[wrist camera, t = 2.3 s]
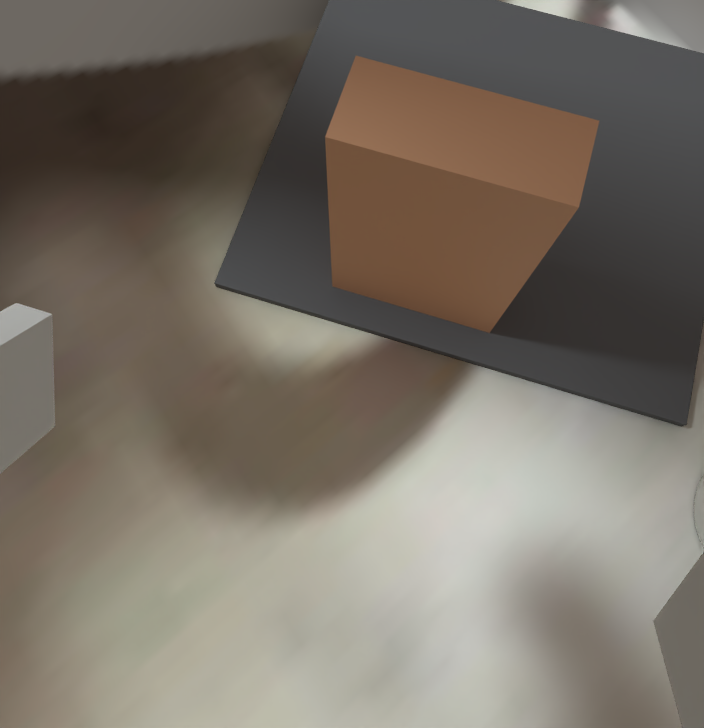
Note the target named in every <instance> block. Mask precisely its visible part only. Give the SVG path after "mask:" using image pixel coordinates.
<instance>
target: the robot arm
mask: <svg viewBox="0 0 704 728" xmlns="http://www.w3.org/2000/svg"><path fill="white" fill-rule="evenodd" d="M53 427H55V407H54V368H53V329H52V314H50V313H47V312H44V311H40V310H37V309H34V308H31V307H28V306H24V305H21V304H18V303H15V304H13V305H11V306H10V307H8V308H6V309H4V310H2V311H0V473H2V472H3V471H4V470H5V469H6V468H7V467H9V466H10V465H11V464H12V463H13V462H14V461H15V460H17V459H18V458H19V457H20V456H21V455H22V454H23V453H25V452H26V451H27V450H28V449H29V448H30V447H32V446H33V445H34V444H35V443H36V442H37V441H38V440H40V439H41V438H42V437H43V436H44V435H45V434H47V433H48V432H49V431H50V430H51V429H52V428H53ZM654 625H655V629H656V632H657V636H658V640H659V643H660V647H661V651H662V654H663V658H664V662H665V665H666V669H667V673H668V676H669V680H670V684H671V687H672V691H673V695H674V698H675V702H676V706H677V709H678V713H679V717H680V720H681V724H682V728H704V553H703V554H702V555H701V557H700V558H699V559H698V561H697V562H696V563H695V565H694V566H693V568H692V569H691V570H690V572H689V573H688V574H687V576H686V577H685V578H684V580H683V581H682V583H681V584H680V585H679V587H678V588H677V589H676V591H675V592H674V594H673V595H672V596H671V598H670V599H669V600H668V602H667V603H666V604H665V606H664V607H663V609H662V610H661V611H660V613H659V614H658V615H657V617H656V618H655V619H654Z"/></svg>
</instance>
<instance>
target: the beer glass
mask: <svg viewBox="0 0 704 728" xmlns="http://www.w3.org/2000/svg"><path fill="white" fill-rule="evenodd" d="M694 521H695V527H696V531H697V534H698V537H699V539H700V542H701V544H702V546H703V548H704V475H703V476H702V478H701V480H700V482H699V484H698V487H697V490H696V493H695V498H694Z"/></svg>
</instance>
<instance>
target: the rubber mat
mask: <svg viewBox="0 0 704 728" xmlns="http://www.w3.org/2000/svg"><path fill="white" fill-rule="evenodd" d="M356 56H359V57H363V58H367V59H371V60H374V61H378V62H382V63H386V64H389V65H393V66H397V67H400V68H404V69H408V70H412V71H415V72H419V73H423V74H427V75H430V76H434V77H438V78H442V79H445V80H449V81H453V82H457V83H460V84H464V85H468V86H472V87H475V88H479V89H483V90H487V91H490V92H494V93H498V94H502V95H505V96H509V97H513V98H517V99H520V100H524V101H528V102H531V103H535V104H539V105H543V106H546V107H550V108H554V109H558V110H561V111H565V112H569V113H573V114H576V115H580V116H584V117H588V118H591V119H595V120H599V125H598V129H597V133H596V137H595V142H594V146H593V150H592V154H591V159H590V163H589V167H588V171H587V175H586V180H585V184H584V188H583V192H582V197H581V201H580V205H579V208H578V209H577V211H576V212H575V214H574V215H573V216H572V218H571V219H570V221H569V222H568V223H567V225H566V226H565V228H564V229H563V230H562V232H561V233H560V235H559V236H558V237H557V239H556V240H555V242H554V243H553V245H552V246H551V247H550V249H549V250H548V252H547V253H546V254H545V256H544V257H543V259H542V260H541V261H540V263H539V264H538V266H537V267H536V268H535V270H534V271H533V273H532V274H531V275H530V277H529V278H528V280H527V281H526V282H525V284H524V285H523V287H522V288H521V289H520V291H519V292H518V294H517V295H516V296H515V298H514V299H513V301H512V302H511V303H510V305H509V306H508V308H507V309H506V310H505V312H504V313H503V315H502V316H501V317H500V319H499V320H498V322H497V323H496V324H495V326H494V327H493V329H492V330H491V331H490V333H488V332H485V331H481V330H478V329H474V328H471V327H468V326H464V325H461V324H458V323H454V322H451V321H447V320H444V319H441V318H437V317H434V316H430V315H427V314H424V313H420V312H417V311H414V310H410V309H407V308H403V307H400V306H397V305H393V304H390V303H387V302H383V301H380V300H376V299H373V298H370V297H366V296H363V295H360V294H356V293H353V292H349V291H346V290H343V289H339V288H336V287H332V269H331V248H330V228H329V207H328V186H327V166H326V145H325V136H326V133H327V130H328V128H329V125H330V123H331V120H332V117H333V115H334V112H335V109H336V107H337V104H338V101H339V99H340V96H341V93H342V91H343V88H344V86H345V83H346V80H347V78H348V75H349V72H350V70H351V67H352V64H353V62H354V59H355V57H356ZM215 285H216V287H219V288H223V289H226V290H229V291H233V292H236V293H239V294H243V295H246V296H249V297H253V298H256V299H259V300H263V301H266V302H269V303H273V304H276V305H279V306H283V307H286V308H289V309H293V310H296V311H299V312H303V313H306V314H309V315H313V316H316V317H319V318H323V319H326V320H329V321H333V322H336V323H339V324H343V325H346V326H349V327H353V328H356V329H359V330H363V331H366V332H369V333H373V334H376V335H379V336H382V337H386V338H389V339H392V340H396V341H399V342H402V343H406V344H409V345H412V346H416V347H419V348H422V349H426V350H429V351H432V352H436V353H439V354H442V355H446V356H449V357H452V358H456V359H459V360H462V361H466V362H469V363H472V364H476V365H479V366H482V367H486V368H489V369H492V370H496V371H499V372H502V373H506V374H509V375H512V376H516V377H519V378H522V379H526V380H529V381H532V382H536V383H539V384H542V385H546V386H549V387H552V388H556V389H559V390H562V391H566V392H569V393H572V394H576V395H579V396H582V397H586V398H589V399H592V400H596V401H599V402H602V403H606V404H609V405H612V406H616V407H619V408H622V409H626V410H629V411H632V412H636V413H639V414H642V415H646V416H649V417H652V418H656V419H659V420H662V421H666V422H669V423H672V424H676V425H679V426H684V425H686V424H687V418H688V412H689V406H690V400H691V394H692V388H693V381H694V375H695V369H696V363H697V357H698V351H699V345H700V339H701V333H702V327H703V321H704V53H700V52H696V51H692V50H688V49H684V48H680V47H677V46H673V45H669V44H665V43H661V42H657V41H653V40H649V39H645V38H641V37H637V36H634V35H630V34H626V33H622V32H618V31H614V30H610V29H606V28H602V27H598V26H595V25H591V24H587V23H583V22H579V21H575V20H571V19H567V18H563V17H559V16H556V15H552V14H548V13H544V12H540V11H536V10H532V9H528V8H524V7H520V6H516V5H513V4H509V3H505V2H501V1H497V0H329V2H328V5H327V7H326V10H325V12H324V14H323V17H322V19H321V22H320V24H319V27H318V29H317V31H316V34H315V36H314V39H313V41H312V44H311V46H310V49H309V51H308V54H307V56H306V59H305V61H304V64H303V66H302V68H301V71H300V73H299V76H298V78H297V81H296V83H295V86H294V88H293V91H292V93H291V96H290V98H289V101H288V103H287V105H286V108H285V110H284V113H283V115H282V118H281V120H280V123H279V125H278V128H277V130H276V133H275V135H274V137H273V140H272V142H271V145H270V147H269V150H268V152H267V155H266V157H265V160H264V162H263V165H262V167H261V170H260V172H259V174H258V177H257V179H256V182H255V184H254V187H253V189H252V192H251V194H250V197H249V199H248V202H247V204H246V207H245V209H244V211H243V214H242V216H241V219H240V221H239V224H238V226H237V229H236V231H235V234H234V236H233V239H232V241H231V243H230V246H229V248H228V251H227V253H226V256H225V258H224V261H223V263H222V266H221V268H220V271H219V273H218V276H217V278H216V280H215Z"/></svg>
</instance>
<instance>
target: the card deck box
mask: <svg viewBox="0 0 704 728" xmlns="http://www.w3.org/2000/svg"><path fill="white" fill-rule="evenodd" d="M598 125H599V120H595V119H591V118H588V117H584V116H580V115H576V114H573V113H569V112H565V111H561V110H558V109H554V108H550V107H546V106H543V105H539V104H535V103H531V102H528V101H524V100H520V99H517V98H513V97H509V96H505V95H502V94H498V93H494V92H490V91H487V90H483V89H479V88H475V87H472V86H468V85H464V84H460V83H457V82H453V81H449V80H445V79H442V78H438V77H434V76H430V75H427V74H423V73H419V72H415V71H412V70H408V69H404V68H400V67H397V66H393V65H389V64H386V63H382V62H378V61H374V60H371V59H367V58H363V57H359V56H356V57H355V59H354V62H353V64H352V67H351V70H350V72H349V75H348V78H347V80H346V83H345V86H344V88H343V91H342V93H341V96H340V99H339V101H338V104H337V107H336V109H335V112H334V115H333V117H332V120H331V123H330V125H329V128H328V130H327V133H326V136H325V145H326V166H327V186H328V207H329V228H330V248H331V269H332V287H336V288H339V289H343V290H346V291H349V292H353V293H356V294H360V295H363V296H366V297H370V298H373V299H376V300H380V301H383V302H387V303H390V304H393V305H397V306H400V307H403V308H407V309H410V310H414V311H417V312H420V313H424V314H427V315H430V316H434V317H437V318H441V319H444V320H447V321H451V322H454V323H458V324H461V325H464V326H468V327H471V328H474V329H478V330H481V331H485V332H488V333H490V331H491V330H492V329H493V327H494V326H495V324H496V323H497V322H498V320H499V319H500V317H501V316H502V315H503V313H504V312H505V310H506V309H507V308H508V306H509V305H510V303H511V302H512V301H513V299H514V298H515V296H516V295H517V294H518V292H519V291H520V289H521V288H522V287H523V285H524V284H525V282H526V281H527V280H528V278H529V277H530V275H531V274H532V273H533V271H534V270H535V268H536V267H537V266H538V264H539V263H540V261H541V260H542V259H543V257H544V256H545V254H546V253H547V252H548V250H549V249H550V247H551V246H552V245H553V243H554V242H555V240H556V239H557V237H558V236H559V235H560V233H561V232H562V230H563V229H564V228H565V226H566V225H567V223H568V222H569V221H570V219H571V218H572V216H573V215H574V214H575V212H576V211H577V209H578V208H579V205H580V201H581V197H582V192H583V188H584V184H585V180H586V175H587V171H588V167H589V163H590V159H591V154H592V150H593V146H594V142H595V137H596V133H597V129H598Z"/></svg>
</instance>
